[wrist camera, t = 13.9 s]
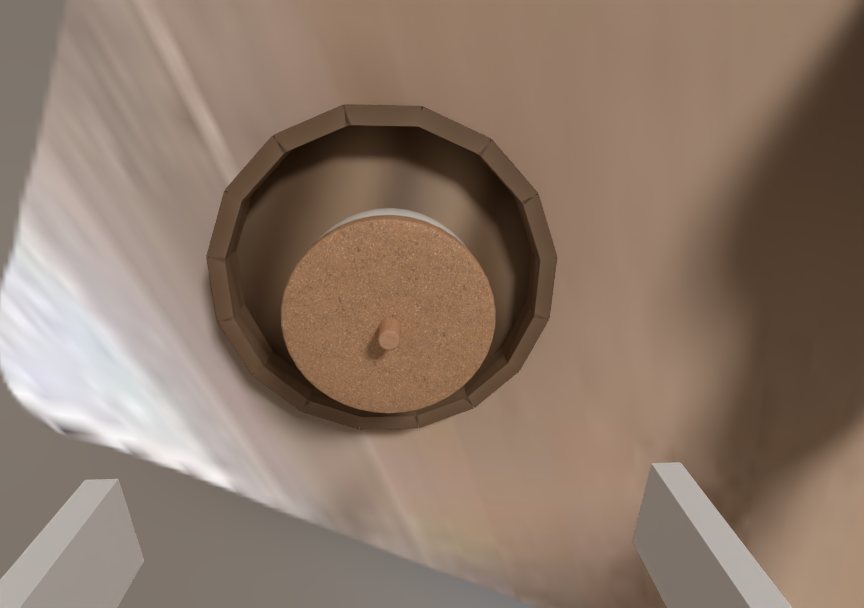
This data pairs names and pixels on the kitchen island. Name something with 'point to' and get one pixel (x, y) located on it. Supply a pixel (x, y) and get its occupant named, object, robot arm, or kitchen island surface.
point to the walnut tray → (366, 190)
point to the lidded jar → (388, 312)
